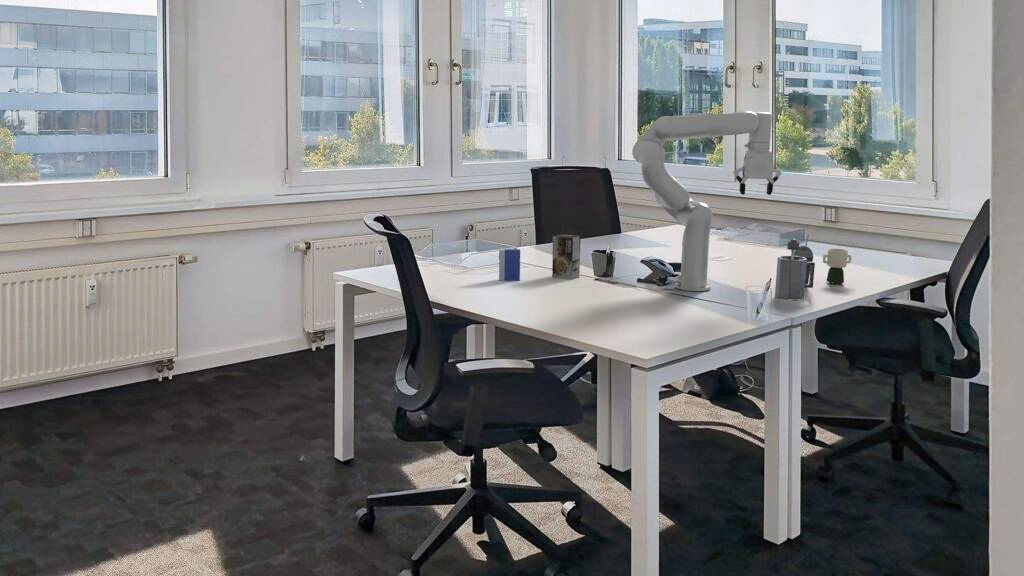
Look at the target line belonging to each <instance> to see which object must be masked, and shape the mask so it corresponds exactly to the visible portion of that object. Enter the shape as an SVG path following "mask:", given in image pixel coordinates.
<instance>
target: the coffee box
mask: <svg viewBox="0 0 1024 576" xmlns="http://www.w3.org/2000/svg"><path fill="white" fill-rule="evenodd" d="M580 262H581V235H575V234H563V233H562V234H556V235H553V236H552V265H551V266H552V267H551V268H552V269H551V270H552V271H551V272H552V273H551V276H552V278H558V279H568V280H574V279H577V278H580V273H581V272H580V271H581V270H580V268H581V267H580V266H581V263H580Z"/></svg>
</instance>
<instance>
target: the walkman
mask: <svg viewBox="0 0 1024 576" xmlns="http://www.w3.org/2000/svg"><path fill="white" fill-rule="evenodd" d="M498 251H499V252H498V260H499V261H498V267H499V269H498V281H499V282H500V281H501V282H505V281H506V282H507V281H509V282H517V281H518V282H520V280H521V249H520V248H518V247H517V248H516V247H515V248H510V249H509V248H499V250H498Z"/></svg>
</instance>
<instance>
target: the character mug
mask: <svg viewBox="0 0 1024 576" xmlns="http://www.w3.org/2000/svg"><path fill="white" fill-rule="evenodd" d="M822 263H823V264H826V265H827V266H828V267H829V269H828V273H827V276H826V282H827V283H830V284H831V285H832V284H835V285H836V284H837V285H838V284H844V283H845V273H844V272H845V271H844V269H843V268H846V267H847V264H851V263H852V254H849V253H848V250H847V249H843V248H829V249H828V250H827V254H824V255H823V256H822Z"/></svg>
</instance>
